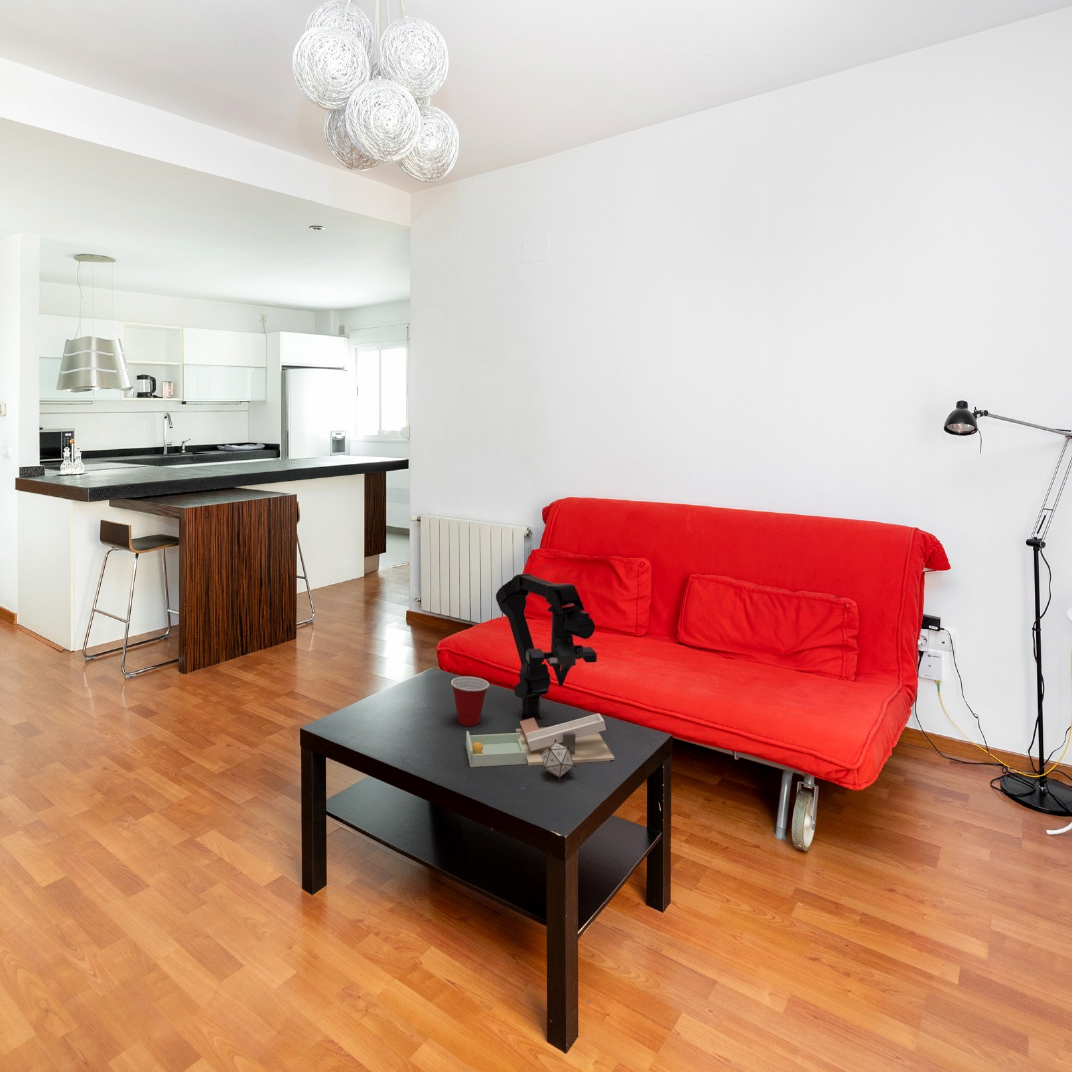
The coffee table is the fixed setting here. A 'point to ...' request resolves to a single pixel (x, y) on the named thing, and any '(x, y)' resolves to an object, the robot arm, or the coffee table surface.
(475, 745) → the ball
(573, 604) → the robot arm
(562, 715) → the coffee table surface
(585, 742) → the lever stand
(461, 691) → the plastic cup
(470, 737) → the tray
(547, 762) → the game die
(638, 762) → the coffee table surface
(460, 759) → the coffee table surface
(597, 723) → the lever
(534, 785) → the coffee table surface
